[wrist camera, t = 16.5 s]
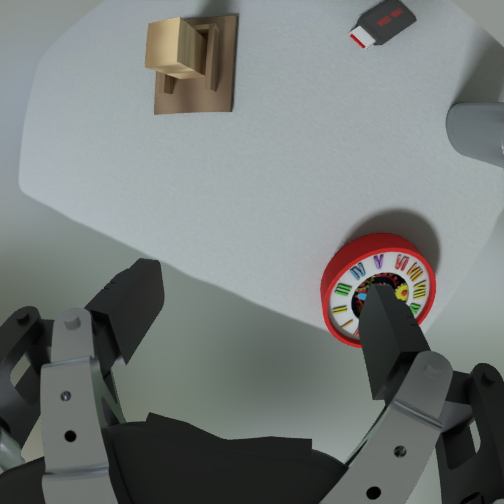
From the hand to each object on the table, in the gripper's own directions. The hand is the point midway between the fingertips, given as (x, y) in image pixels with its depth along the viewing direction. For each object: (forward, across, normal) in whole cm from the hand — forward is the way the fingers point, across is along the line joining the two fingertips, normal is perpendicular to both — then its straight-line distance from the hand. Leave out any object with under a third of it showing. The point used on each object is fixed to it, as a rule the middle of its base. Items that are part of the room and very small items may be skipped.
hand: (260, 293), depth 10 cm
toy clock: (+33, -18, +18) cm, 42 cm away
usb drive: (+33, -14, -26) cm, 44 cm away
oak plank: (+31, +14, -16) cm, 38 cm away
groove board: (+32, +14, -16) cm, 39 cm away
